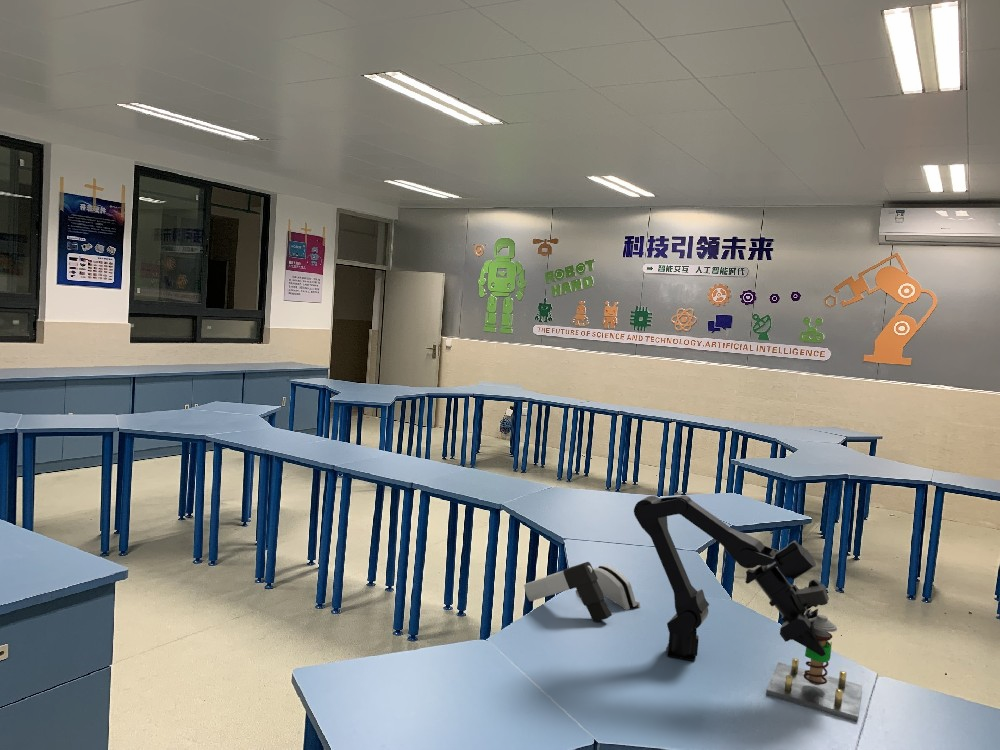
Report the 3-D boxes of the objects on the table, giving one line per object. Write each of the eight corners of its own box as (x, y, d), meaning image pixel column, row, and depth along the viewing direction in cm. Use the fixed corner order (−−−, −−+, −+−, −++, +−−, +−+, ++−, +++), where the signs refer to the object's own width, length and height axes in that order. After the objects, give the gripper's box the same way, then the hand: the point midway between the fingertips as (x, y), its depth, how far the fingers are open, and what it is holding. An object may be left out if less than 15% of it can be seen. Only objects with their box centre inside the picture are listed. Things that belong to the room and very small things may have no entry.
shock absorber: (822, 677, 165) (830, 612, 164) (835, 690, 159) (843, 623, 158) (794, 674, 165) (802, 609, 164) (806, 688, 159) (814, 621, 158)
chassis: (766, 694, 159) (767, 676, 159) (777, 667, 173) (779, 650, 173) (857, 721, 151) (859, 702, 150) (861, 690, 165) (863, 672, 164)
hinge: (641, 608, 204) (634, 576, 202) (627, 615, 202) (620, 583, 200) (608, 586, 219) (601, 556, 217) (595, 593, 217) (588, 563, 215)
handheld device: (606, 619, 190) (585, 563, 193) (540, 637, 201) (520, 584, 204) (613, 614, 193) (591, 559, 196) (547, 633, 204) (528, 580, 207)
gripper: (802, 582, 154) (854, 648, 149) (813, 560, 170) (859, 619, 166) (759, 609, 158) (808, 673, 154) (773, 584, 174) (818, 642, 170)
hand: (825, 650), depth 161 cm, fingers closed on shock absorber, 5 cm apart
